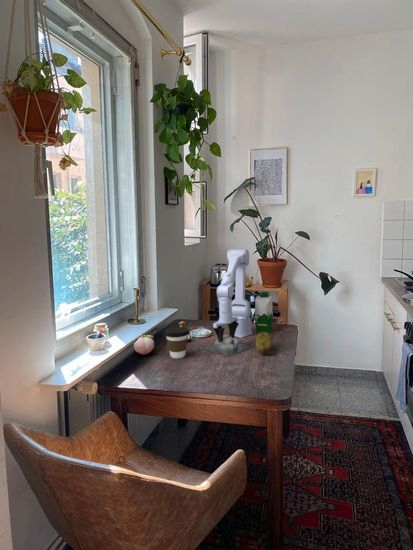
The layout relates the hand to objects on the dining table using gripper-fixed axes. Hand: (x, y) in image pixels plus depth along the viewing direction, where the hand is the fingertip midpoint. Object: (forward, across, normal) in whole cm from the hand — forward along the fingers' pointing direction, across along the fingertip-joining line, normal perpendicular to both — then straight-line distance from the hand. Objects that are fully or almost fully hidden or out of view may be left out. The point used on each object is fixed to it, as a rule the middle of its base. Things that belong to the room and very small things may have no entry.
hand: (226, 339), depth 188 cm
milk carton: (+5, -33, -4) cm, 33 cm away
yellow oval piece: (+5, -8, +15) cm, 18 cm away
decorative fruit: (+4, +30, -23) cm, 38 cm away
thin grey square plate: (+4, 0, 0) cm, 4 cm away
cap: (+4, 0, 0) cm, 4 cm away
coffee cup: (+5, +21, -10) cm, 24 cm away
